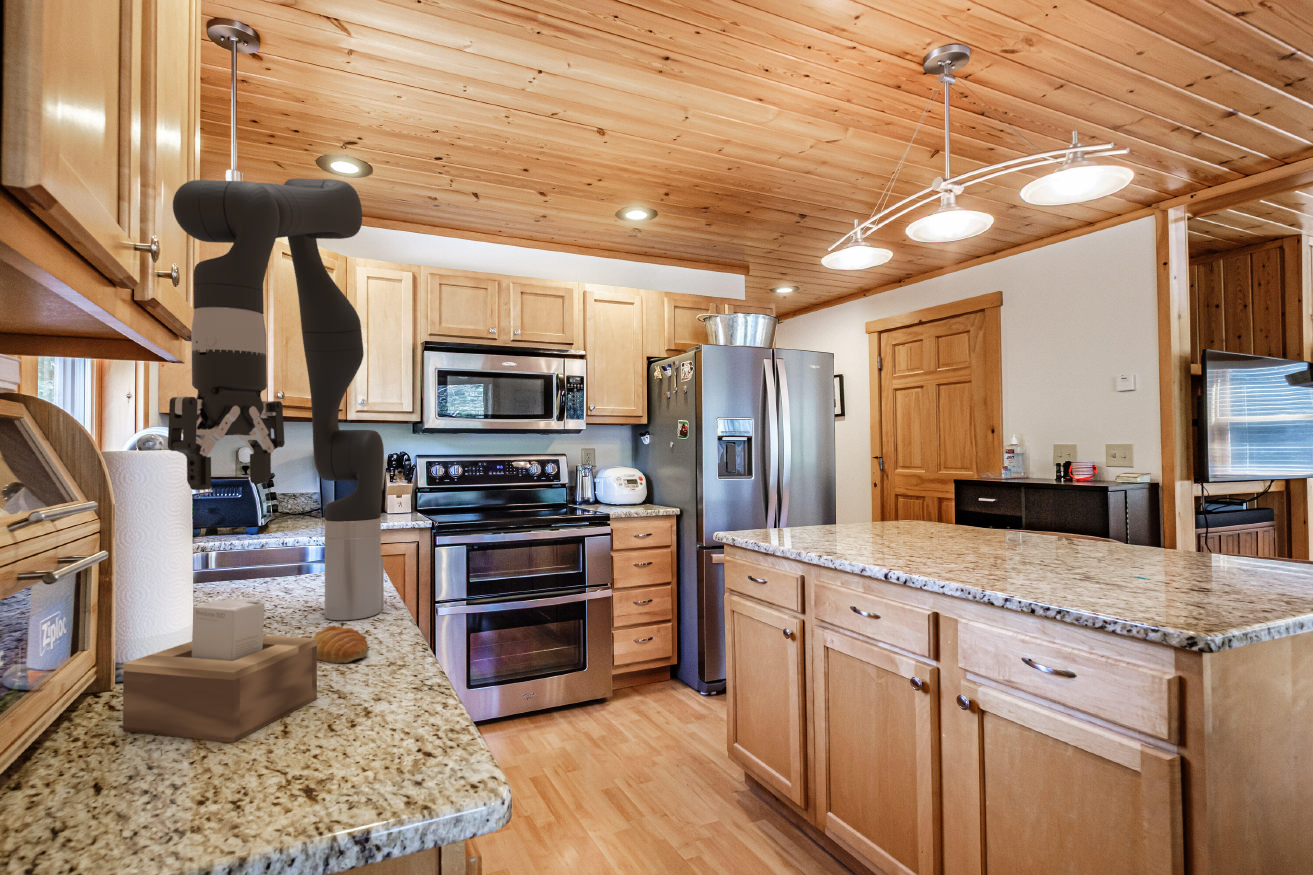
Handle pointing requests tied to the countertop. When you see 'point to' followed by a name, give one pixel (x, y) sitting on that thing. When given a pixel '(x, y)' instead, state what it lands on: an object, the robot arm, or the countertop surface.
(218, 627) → the skincare box
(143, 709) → the slot box
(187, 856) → the countertop surface
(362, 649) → the pastry
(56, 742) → the countertop surface
